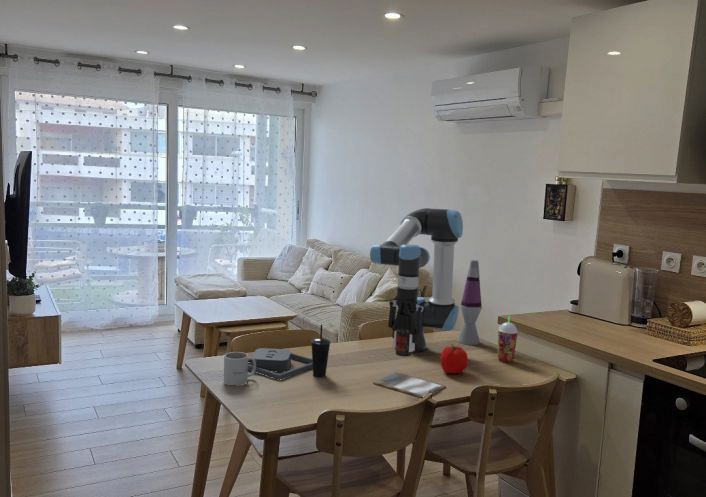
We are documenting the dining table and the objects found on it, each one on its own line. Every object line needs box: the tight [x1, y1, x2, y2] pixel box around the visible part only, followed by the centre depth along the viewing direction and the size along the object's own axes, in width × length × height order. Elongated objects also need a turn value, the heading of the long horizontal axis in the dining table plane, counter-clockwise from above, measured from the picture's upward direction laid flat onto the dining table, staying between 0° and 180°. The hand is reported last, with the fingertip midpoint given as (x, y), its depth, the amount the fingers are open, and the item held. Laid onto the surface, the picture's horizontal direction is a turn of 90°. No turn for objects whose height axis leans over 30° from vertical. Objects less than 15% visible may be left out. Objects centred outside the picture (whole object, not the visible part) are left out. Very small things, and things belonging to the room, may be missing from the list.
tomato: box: [439, 344, 469, 374], centre depth 233 cm, size 12×12×11 cm
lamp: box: [457, 259, 483, 346], centre depth 278 cm, size 11×11×40 cm
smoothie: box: [497, 315, 519, 364], centre depth 252 cm, size 8×8×20 cm
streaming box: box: [250, 347, 292, 373], centre depth 231 cm, size 14×14×5 cm
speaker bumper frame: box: [248, 352, 313, 381], centre depth 232 cm, size 24×24×2 cm
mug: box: [223, 351, 256, 386], centre depth 212 cm, size 12×9×10 cm
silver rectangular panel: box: [373, 371, 447, 398], centre depth 217 cm, size 22×16×1 cm
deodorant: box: [395, 312, 413, 358], centre depth 212 cm, size 6×6×15 cm
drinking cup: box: [310, 324, 332, 378], centre depth 222 cm, size 8×8×20 cm
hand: (403, 349), depth 212 cm, fingers closed on deodorant, 6 cm apart
